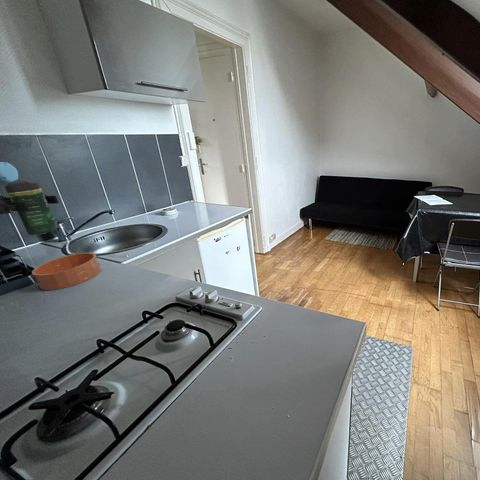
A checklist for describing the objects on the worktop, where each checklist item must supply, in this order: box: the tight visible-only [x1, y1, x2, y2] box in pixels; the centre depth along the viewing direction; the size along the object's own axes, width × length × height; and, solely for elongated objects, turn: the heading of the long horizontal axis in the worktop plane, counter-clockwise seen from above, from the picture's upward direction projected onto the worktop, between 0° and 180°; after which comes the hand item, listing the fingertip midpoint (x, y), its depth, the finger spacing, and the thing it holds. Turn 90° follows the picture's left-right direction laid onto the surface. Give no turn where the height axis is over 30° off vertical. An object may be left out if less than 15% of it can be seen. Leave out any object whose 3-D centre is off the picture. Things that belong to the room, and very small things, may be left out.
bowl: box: [31, 252, 102, 291], centre depth 89 cm, size 16×16×6 cm
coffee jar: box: [4, 178, 59, 236], centre depth 91 cm, size 10×8×19 cm
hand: (42, 202), depth 89 cm, fingers closed on coffee jar, 8 cm apart
